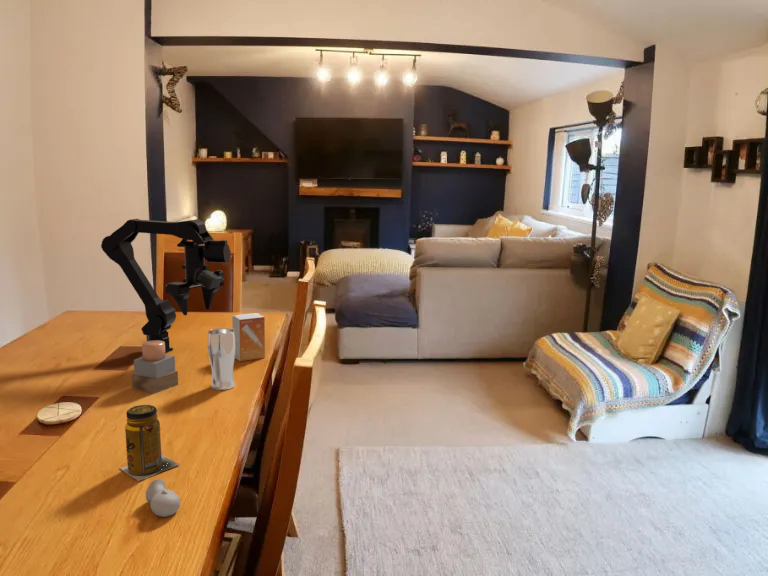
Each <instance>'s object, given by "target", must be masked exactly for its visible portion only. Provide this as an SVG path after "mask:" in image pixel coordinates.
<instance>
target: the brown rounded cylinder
mask: <svg viewBox="0 0 768 576" xmlns="http://www.w3.org/2000/svg"><path fill="white" fill-rule="evenodd" d="M141 345H142V347H141V348H142V357H143V360H144V361H160V360H163V359H165V358H166V356H165V355H166V352H165V342H164V341H160V340H153V341H147V340H146V341H145V342H142V344H141Z"/></svg>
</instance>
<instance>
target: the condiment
mask: <svg viewBox="0 0 768 576" xmlns="http://www.w3.org/2000/svg"><path fill="white" fill-rule="evenodd" d="M157 411H158V409H157V407H155V406H154V405H151V404H140V405H139V404H138V405H134V406H132V407H130V408H129V409H127V410H126V424H125V427H124V431H125V443H126V444H125V445H126V447H125V448H126V460H127V461H126V463H127V465H125V466H123V467H118V469H120V470H121V471H122V472H124V473H125V474H127V475H128V476H130V477H131V478H133V479H135V480H136V481H137V482H139V481H142V480H145V479H147V478H150V477H153V476H155V475H158V474H160V473H162V472H164V471H167V470H169V469H172V468H174V467H176V466H180V463H179V462H176V461H175V460H172V459H170V458H169V457H168V456H166V455H164V454H163V453H162V440H161V426H160V425H161V423H160V420H159V419H158V414H157ZM167 463H168V464H167ZM163 465H164V466H163ZM166 465H167V466H166ZM161 469H162V470H161Z"/></svg>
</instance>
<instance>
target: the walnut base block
mask: <svg viewBox="0 0 768 576" xmlns="http://www.w3.org/2000/svg"><path fill="white" fill-rule="evenodd" d="M178 372H179V371H178V370H175V371H173V372H171V373H168V374H166V375H164V376H162V377H159V378H157V379H155V378H149V377H144V376H138V375H135V372H133V373H131V374H130V375H131V388H132V389H134V390H139V391H142V392H145V393H150V394H152V395H154V394H157V393H160V392H163V391H165V390H168V389H170V387H171V388H174V387H176V386H178V385H179V373H178ZM162 390H163V391H162Z"/></svg>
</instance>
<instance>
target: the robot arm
mask: <svg viewBox="0 0 768 576" xmlns="http://www.w3.org/2000/svg"><path fill="white" fill-rule="evenodd" d="M140 233H141V234H151V235H152V234H157V235H170V236H174V237H176V238H178V239H181V240H180V242H179V243H178V244H177V245H176V247H177V248H178V247H179V248H184V264H182V265H181V267H182V268H181V269H183V270H184V271H185V272H184V273H185V274H184V275H185V277H184V278H182V282H181V281H173V282H168V283H167V284H165V294H169V295H170V296H172V298H173V299H174V300H175V302H176V303H177V305H178V307H179V310H180V312H181V313H182V315H183V316H188V309H189V307H188V302H189V301H188V299H189V297H190V296H191V293H189V292H190V290H191V289H196V288H201V291H202V292H201V293H202V297H203V302H204V307H205V309H206V310H210V309H211V307H212V302H213V299H214V296H215V294H216V293H217V291H219V290H220V289H221V288H222V286H225V280H224V271H222V270H221V269H218V270H214V271H210V268H209V267H210V266H209V265H208V264H206V261H207V262H208V263H215V264H219V263H221V264H228V263H229V262H230V261H231V260H230V259H231V252H232V251H231V249H230V245H229V244H228V240H227V239H221V240H218V239H217V240H216V239H214V238H213V237H212V235H211V234H210V232H208V230H207V226H206V224H205V223H204V222H203V220H201V219H188V220H183V221H182V220H181V221H168V220H167V221H163V220H148V219H139V218H132V219H127V221H126V222H124V224H123V225H121V226H120V227H118V229H116V230H114V231H113V232H112V233H111V234H110V235H107V236H105V237H104V238H103V239H102V241H101V244H100V247H101V249H102V251H103V252H104V254H105V255H106V256H107V257H108V258H109V259H110V260H111V261H113V262H114V263H115V264H117V265H118V266H119V267H120V268H121V270H122V272H123V273H124V274H125V277H126V278H127V280H128V281H129V283H130V284H131V286H132V288H133V289H134V291H135V292H136V294H137V295H138V297H139V298H140V300H141V302H142V303H143V306H144V310H145V317H146V318H147V322H146V323H145V324H144V325H143V326H142V327H141V332H142V334H143V336H146V342H147V341H153V340H160V341H164V342H165V353H167V352H170V351H173V350H174V348H173V347H170V337H169V331H168V330H170V329H171V328H172V325H173V323H175V321H176V317H177V314H176V312H175V311H176V310H177V309H176V308H174V307H173V305H172V303H171V301H170V300H169V299H165V300H163V299H162V298H160V296H159V295H158V293H157V292H156V290H155V289H154V287H153V285H152V284H151V282H150V281H149V279H148V278H147V276H146V275H145V273H144V271H143V269H142V268H141V267H140V265H139V263H138V261H137V260H136V259H135V253H134V247H133V245H132V243H133V242H134V241H135V240H136V238H137V237H138V235H139V234H140ZM205 260H206V261H205Z"/></svg>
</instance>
